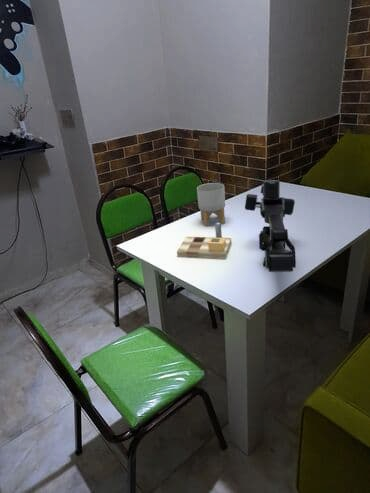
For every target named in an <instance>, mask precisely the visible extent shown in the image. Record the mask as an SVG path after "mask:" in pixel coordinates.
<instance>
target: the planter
mask: <svg viewBox="0 0 370 493" xmlns="http://www.w3.org/2000/svg"><path fill="white" fill-rule="evenodd" d="M225 190H226V189H225V185H224V184H223V183H221V182H220V183H219V182H208V183H203V184H200V185H198V186H197V187H196V192H197V193H196V194H197V203H198V209H199V210H200V220H201V221H203V224H204V227H209V220H210V218H211V216H212V214H214V215H215V216H216V217H217V219H219V220H220V221H219V222H221V225H224V224H225V223H226V220H225V218H226V215H225V207H226V192H225Z"/></svg>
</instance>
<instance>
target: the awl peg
mask: <svg viewBox="0 0 370 493" xmlns="http://www.w3.org/2000/svg"><path fill="white" fill-rule="evenodd" d="M214 227H215V228H214V229H215V230H214V231H215V237H218V238H223V237H222V236H223V235H222V232H223V231H222V224H221V221H216V222H214Z"/></svg>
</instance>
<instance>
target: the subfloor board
mask: <svg viewBox="0 0 370 493" xmlns="http://www.w3.org/2000/svg"><path fill="white" fill-rule="evenodd" d="M210 238H218V237H216V236H212V237H210V236H208V237H207V236H206V237H205V236H186V237H184V239H183V241H182V243H181V244H180V245H179V247H178V249H177V251H176V255H177V258H178V257H180V258H197V259H198V258H199V259H200V258H201V259H216V260H217V259H219V260H227V256H228V255H229V254H228V253H229V251H230V248H231V246H232V237H224V238H225V241H226V246H225V249H224V252H222V251H209V248H208V242H209V240H210Z"/></svg>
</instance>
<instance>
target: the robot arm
mask: <svg viewBox="0 0 370 493" xmlns="http://www.w3.org/2000/svg"><path fill="white" fill-rule="evenodd" d="M280 183H281V181H280V180H275V179H274V180H273V179H272V180H264V181H263V184H262V185H261V187H260V194H262V198H261V199H260V201H258V194H254V193H253V194H252V193H247V194H246V197H245V203H244V209H245V211H251V212H252V211H253V212H255V210H256V208H257V209H259V210H260V211H259V212H260V216H261V218H262V219H264V222H265V223H266V224H268V225H267V226H266V225H265V226H263V227H262V230H260V232H259V234H258V243H259V244H258V246H259V247H258V248H259V249H260V250H261V252H264V257H263V262H262V266H263V267H265V268H266V269H268V272H270V273H277V272H279V273H280V272H281V273H283V272H285V273H287V272H293V271H294V269H295V268H296V266H297V265H296V264H297V258H296V248H295V246H294V245H293V243H292V242H291V240H290V239H289V235H288V234H289V233H288V229H287V228H286V227H285V224H284V218H285V217H286V215H287V216H292V215H293V214H294V213H293V212H294V208H295V202H296V201H295V199H294V198H289V197H288V198H287V197H283V196H282V197H281V196H280V189H281V188H280ZM286 246H287V247H288V249H289V250H288V249H286Z"/></svg>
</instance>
